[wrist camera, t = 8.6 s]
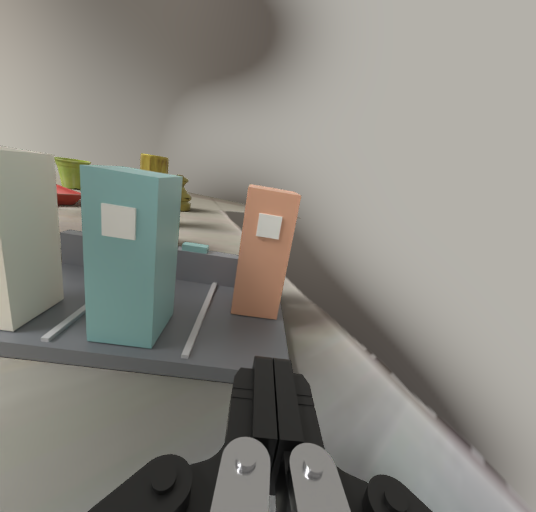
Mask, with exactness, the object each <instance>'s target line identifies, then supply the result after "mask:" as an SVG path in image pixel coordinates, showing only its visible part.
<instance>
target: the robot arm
mask: <svg viewBox="0 0 536 512" xmlns="http://www.w3.org/2000/svg"><path fill="white" fill-rule="evenodd" d="M269 495H276V512H432V511H431V510H430V509H429V508H428V507H427V506H426V505H425V504H424V503H423V502H421V501H420V500H419V499H418V498H417V497H416V496H415V495H414V494H413V493H412V492H411V491H410V490H409V489H408V488H407V487H406V486H404V485H403V484H402V483H401V482H399V481H398V480H396V479H394V478H393V477H390V476H387V475H376V476H374V477H373V478H371V480H370V481H369V483H367V482H365V481H363V480H360V479H358V478H356V477H354V476H351V475H349V474H347V473H345V472H344V471H342V470H341V469H339V468H338V467H337V466H336V465H335V462H334V461H333V459H332V457H331V456H330V455H329V454H328V452H327V451H325V449H324V445H323V441H322V437H321V432H320V428H319V424H318V420H317V415H316V411H315V408H314V402H313V398H312V394H311V389H310V385H309V383H308V382H307V381H306V379H305V378H304V376H303V375H302V374H295V373H293V370H292V364H291V360H288V359H280V358H273V359H272V358H271V357H263V356H254V361H253V367H252V369H251V368H242V367H241V368H240V369H239V370H238V372H237V373H236V374H235V376H234V381H233V388H232V394H231V401H230V407H229V415H228V423H227V430H226V438H225V443H224V445H223V447H222V448H221V450H220V451H219V452H218V453H217V454H216V455H214V456H213V457H212V458H210V459H208V460H205V461H202V462H198V463H195V464H191V465H189V464H188V463H187V461H186V460H185V459H183V458H182V457H180V456H177V455H172V454H169V455H162V456H159V457H157V458H155V459H153V460H151V461H150V462H149V463H147V464H146V465H145V466H144V467H142V468H141V469H140V470H139V471H137V472H136V473H135V474H134V475H132V476H131V477H130V478H129V479H127V480H126V481H125V482H124V483H123V484H121V485H120V486H119V487H118V488H116V489H115V490H114V491H113V492H111V493H110V494H109V495H108V496H106V497H105V498H104V499H103V500H101V501H100V502H99V503H98V504H96V505H95V506H94V507H93V508H91V509H90V510H89V511H88V512H269Z"/></svg>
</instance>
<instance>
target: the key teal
mask: <svg viewBox="0 0 536 512" xmlns="http://www.w3.org/2000/svg"><path fill="white" fill-rule="evenodd" d="M182 178H183V177H182V176H176V175H170V174H164V173H158V172H152V171H147V170H141V169H135V168H129V167H123V166H101V165H99V166H98V165H80V187H81V211H82V235H83V260H84V284H85V309H86V333H87V341H92V342H100V343H108V344H116V345H125V346H133V347H141V348H149V349H152V347H153V345H154V344H155V342H156V341H157V339H158V337H159V336H160V334H161V332H162V331H163V329H164V328H165V326H166V324H167V323H168V321H169V320H170V318H171V316H172V315H173V309H174V294H175V280H176V265H177V251H178V236H179V222H180V207H181V193H182Z"/></svg>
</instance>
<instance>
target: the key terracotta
mask: <svg viewBox="0 0 536 512" xmlns="http://www.w3.org/2000/svg"><path fill="white" fill-rule="evenodd" d="M300 199H301V195H299V194H297V193H295V192H292V191H287V190H282V189H276V188H269V187H264V186H258V185H252V184H250V186H249V187H248V193H247V201H246V207H245V215H244V221H243V229H242V236H241V243H240V250H239V257H238V264H237V271H236V278H235V285H234V293H233V300H232V307H231V314H237V315H244V316H252V317H259V318H267V319H274V320H277V315H278V310H279V305H280V300H281V295H282V290H283V285H284V280H285V275H286V270H287V264H288V260H289V255H290V250H291V245H292V239H293V234H294V230H295V225H296V220H297V215H298V209H299V205H300Z"/></svg>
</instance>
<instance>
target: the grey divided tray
mask: <svg viewBox="0 0 536 512" xmlns="http://www.w3.org/2000/svg"><path fill="white" fill-rule="evenodd" d="M60 237H61V253H62V278H63V293H64V299H63V300H61V301H60V302H58V303H57V304H55V305H54V306H52V307H50V308H49V309H47V310H46V311H44V312H43V313H41V314H40V315H38V316H36V317H35V318H33V319H32V320H30V321H29V322H27V323H26V324H24V325H22V326H21V327H19V328H18V329H16V330H15V331H5V330H0V357H9V358H18V359H26V360H35V361H44V362H53V363H61V364H70V365H79V366H87V367H96V368H105V369H113V370H122V371H131V372H140V373H148V374H157V375H166V376H174V377H183V378H192V379H200V380H209V381H218V382H227V383H233V381H234V376H235V374H236V373H237V372H238V370H239V369H240V368H241V367H242V368H251V369H252V367H253V361H254V356H263V357H271V358H272V359H273V358H280V359H288V360H289V355H288V348H287V342H286V335H285V328H284V322H283V315H282V308H281V302H280V305H279V310H278V315H277V320H274V319H267V318H259V317H252V316H244V315H237V314H231V307H232V300H233V293H234V285H235V278H236V271H237V264H238V257H239V255H234V254H228V253H221V252H214V251H208V250H209V245H203V244H197V243H190V242H184V243H183V244H182V247H181V246H178V251H177V265H176V280H175V294H174V309H173V315H172V316H171V318H170V320H169V321H168V323H167V324H166V326H165V328H164V329H163V331H162V332H161V334H160V336H159V337H158V339H157V341H156V342H155V344H154V345H153V347H152V349H149V348H141V347H133V346H125V345H116V344H108V343H100V342H92V341H87V333H86V309H85V284H84V260H83V235H82V231H75V230H67V231H63V232H60Z"/></svg>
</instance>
